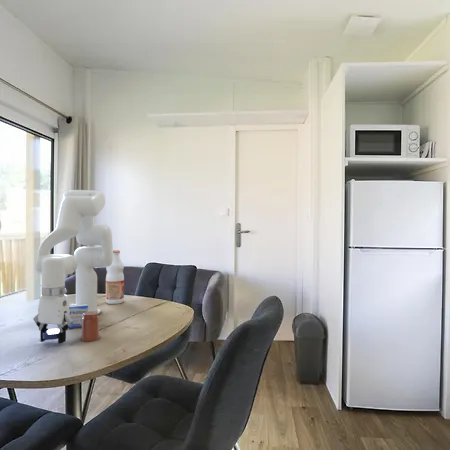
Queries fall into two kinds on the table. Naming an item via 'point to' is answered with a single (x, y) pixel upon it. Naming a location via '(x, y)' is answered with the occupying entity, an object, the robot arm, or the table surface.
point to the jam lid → (51, 334)
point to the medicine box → (77, 314)
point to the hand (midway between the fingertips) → (53, 341)
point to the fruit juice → (115, 280)
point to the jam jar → (90, 326)
